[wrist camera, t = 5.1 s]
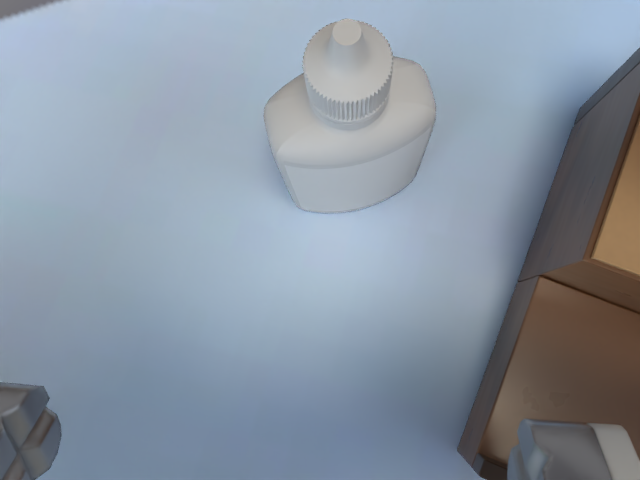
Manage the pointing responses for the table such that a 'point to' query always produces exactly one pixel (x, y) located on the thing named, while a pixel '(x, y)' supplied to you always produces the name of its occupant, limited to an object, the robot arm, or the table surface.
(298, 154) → the eye dropper bottle
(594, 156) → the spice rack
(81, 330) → the table surface
